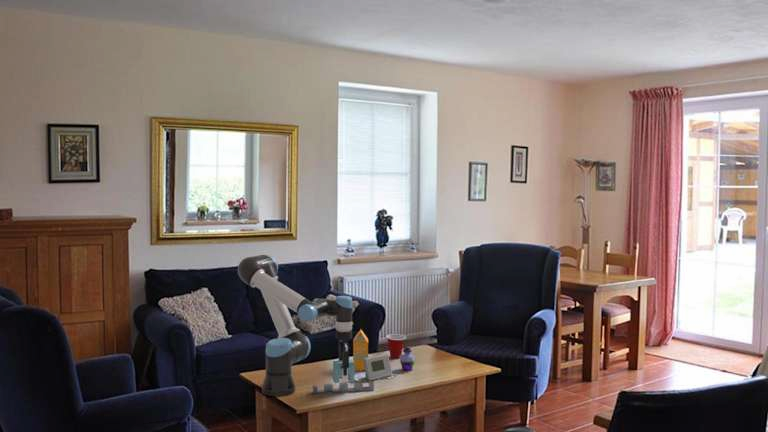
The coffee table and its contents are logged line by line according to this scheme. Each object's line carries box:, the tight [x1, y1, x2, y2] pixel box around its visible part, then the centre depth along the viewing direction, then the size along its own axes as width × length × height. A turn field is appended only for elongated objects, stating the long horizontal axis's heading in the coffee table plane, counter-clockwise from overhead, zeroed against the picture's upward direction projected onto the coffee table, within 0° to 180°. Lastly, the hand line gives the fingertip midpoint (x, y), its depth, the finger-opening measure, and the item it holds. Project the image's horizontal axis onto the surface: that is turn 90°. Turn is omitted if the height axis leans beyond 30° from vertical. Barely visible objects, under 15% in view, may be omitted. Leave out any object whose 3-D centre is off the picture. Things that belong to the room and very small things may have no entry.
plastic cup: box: [386, 333, 407, 360], centre depth 372 cm, size 11×11×12 cm
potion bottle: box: [399, 345, 416, 372], centre depth 348 cm, size 9×9×12 cm
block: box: [332, 359, 355, 384], centre depth 310 cm, size 9×4×9 cm, turn 104°
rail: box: [312, 380, 375, 395], centre depth 310 cm, size 28×3×4 cm, turn 104°
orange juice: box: [352, 328, 369, 370], centre depth 349 cm, size 8×9×20 cm
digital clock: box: [363, 353, 393, 382], centre depth 334 cm, size 16×9×11 cm, turn 122°
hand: (343, 380), depth 310 cm, fingers closed on block, 4 cm apart
